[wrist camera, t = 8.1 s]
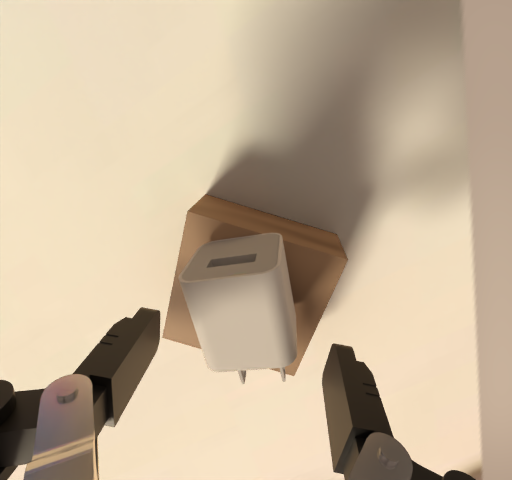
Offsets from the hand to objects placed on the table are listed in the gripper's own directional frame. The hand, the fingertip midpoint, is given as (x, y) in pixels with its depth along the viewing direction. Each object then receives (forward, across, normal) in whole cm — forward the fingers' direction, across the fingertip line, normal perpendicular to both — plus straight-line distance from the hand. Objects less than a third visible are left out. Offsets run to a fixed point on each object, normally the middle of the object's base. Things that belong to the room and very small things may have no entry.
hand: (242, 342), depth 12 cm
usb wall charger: (+4, 0, 0) cm, 4 cm away
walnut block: (+7, 0, 0) cm, 7 cm away
